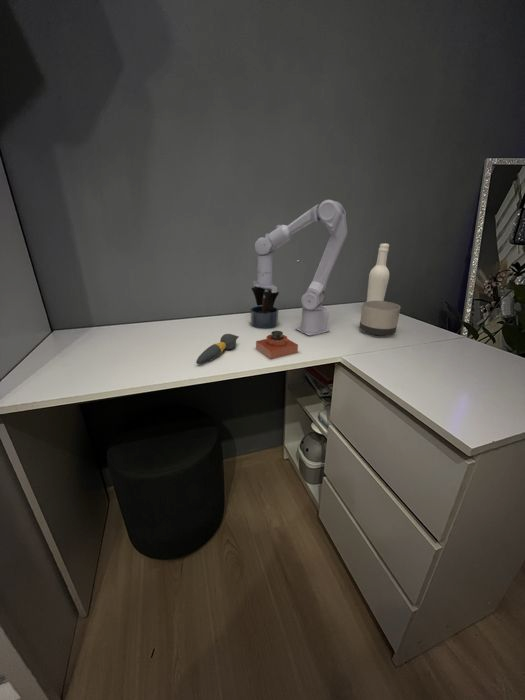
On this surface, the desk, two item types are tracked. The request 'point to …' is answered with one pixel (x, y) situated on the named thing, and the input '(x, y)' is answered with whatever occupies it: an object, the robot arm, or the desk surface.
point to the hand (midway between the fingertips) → (264, 307)
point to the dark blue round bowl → (264, 318)
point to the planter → (379, 318)
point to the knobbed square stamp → (276, 347)
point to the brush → (264, 306)
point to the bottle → (379, 276)
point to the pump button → (276, 335)
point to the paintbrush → (217, 348)
